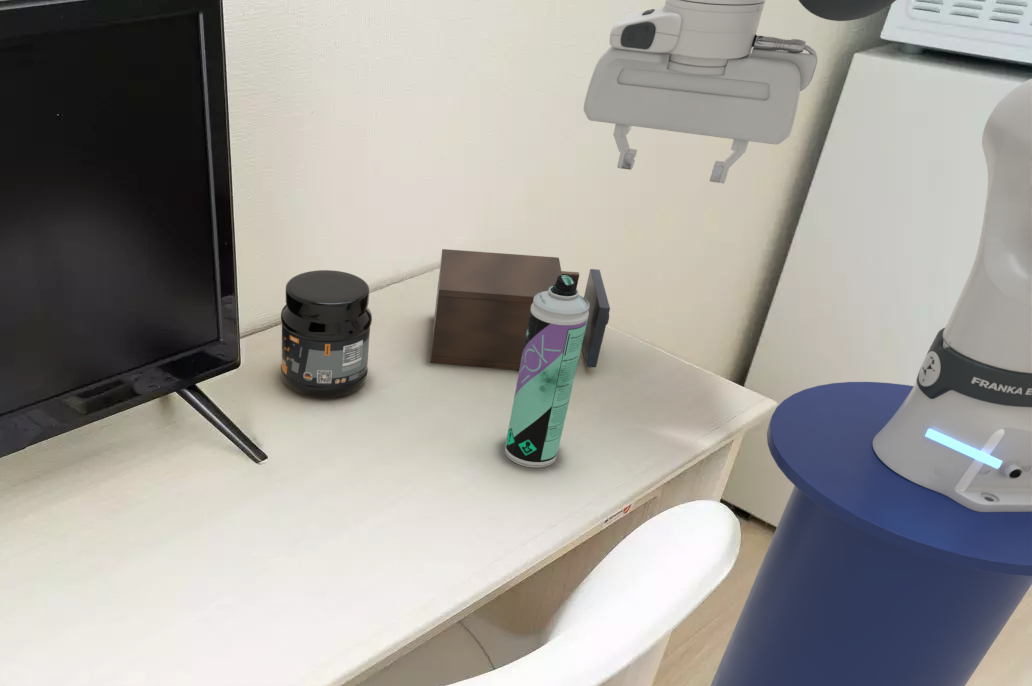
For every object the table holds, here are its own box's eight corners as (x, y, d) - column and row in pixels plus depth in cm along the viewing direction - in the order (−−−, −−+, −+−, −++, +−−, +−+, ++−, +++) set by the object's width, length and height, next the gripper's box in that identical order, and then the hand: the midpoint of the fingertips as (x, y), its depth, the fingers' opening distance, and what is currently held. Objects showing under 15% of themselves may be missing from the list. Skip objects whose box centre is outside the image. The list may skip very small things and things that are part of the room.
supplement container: (293, 353, 118) (295, 263, 110) (375, 365, 115) (382, 273, 108) (269, 393, 110) (269, 298, 102) (356, 407, 107) (363, 311, 100)
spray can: (526, 434, 103) (560, 262, 91) (566, 455, 100) (608, 280, 88) (494, 451, 100) (524, 276, 88) (534, 474, 97) (572, 295, 85)
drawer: (596, 326, 123) (609, 270, 118) (606, 368, 113) (620, 309, 109) (482, 317, 124) (491, 261, 120) (483, 358, 115) (492, 298, 110)
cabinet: (545, 327, 124) (559, 257, 119) (551, 373, 114) (566, 299, 108) (434, 318, 126) (442, 248, 120) (430, 362, 116) (439, 289, 110)
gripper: (825, 36, 89) (778, 181, 97) (608, 16, 96) (582, 152, 105) (822, 48, 85) (773, 199, 93) (595, 26, 92) (568, 168, 100)
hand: (670, 174), depth 99 cm, fingers open, 8 cm apart
